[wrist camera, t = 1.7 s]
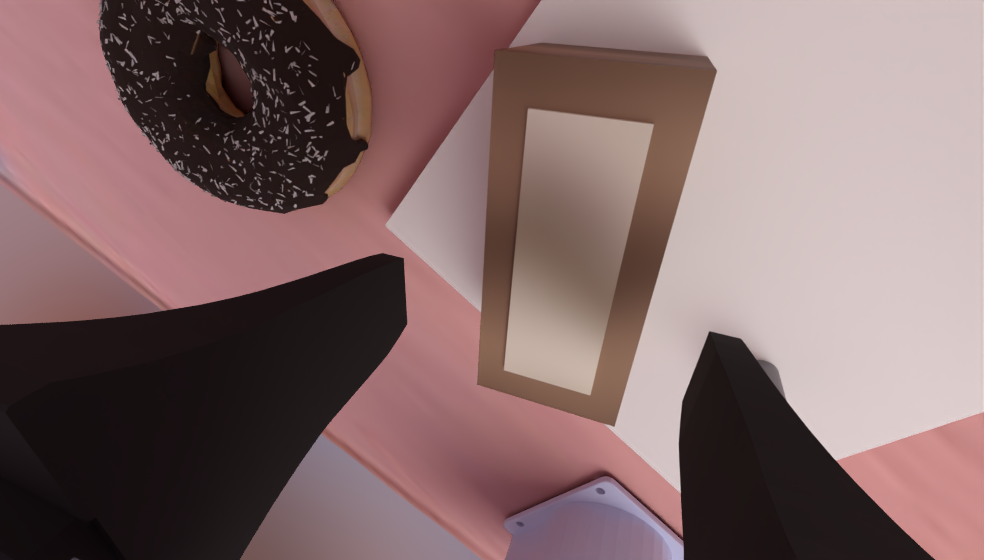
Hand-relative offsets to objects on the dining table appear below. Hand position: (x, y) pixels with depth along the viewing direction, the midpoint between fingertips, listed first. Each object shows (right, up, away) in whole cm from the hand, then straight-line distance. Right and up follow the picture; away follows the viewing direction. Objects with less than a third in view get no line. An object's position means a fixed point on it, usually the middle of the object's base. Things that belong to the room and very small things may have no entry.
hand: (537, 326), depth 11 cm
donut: (-11, +10, +10) cm, 18 cm away
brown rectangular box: (+3, +4, +6) cm, 8 cm away
